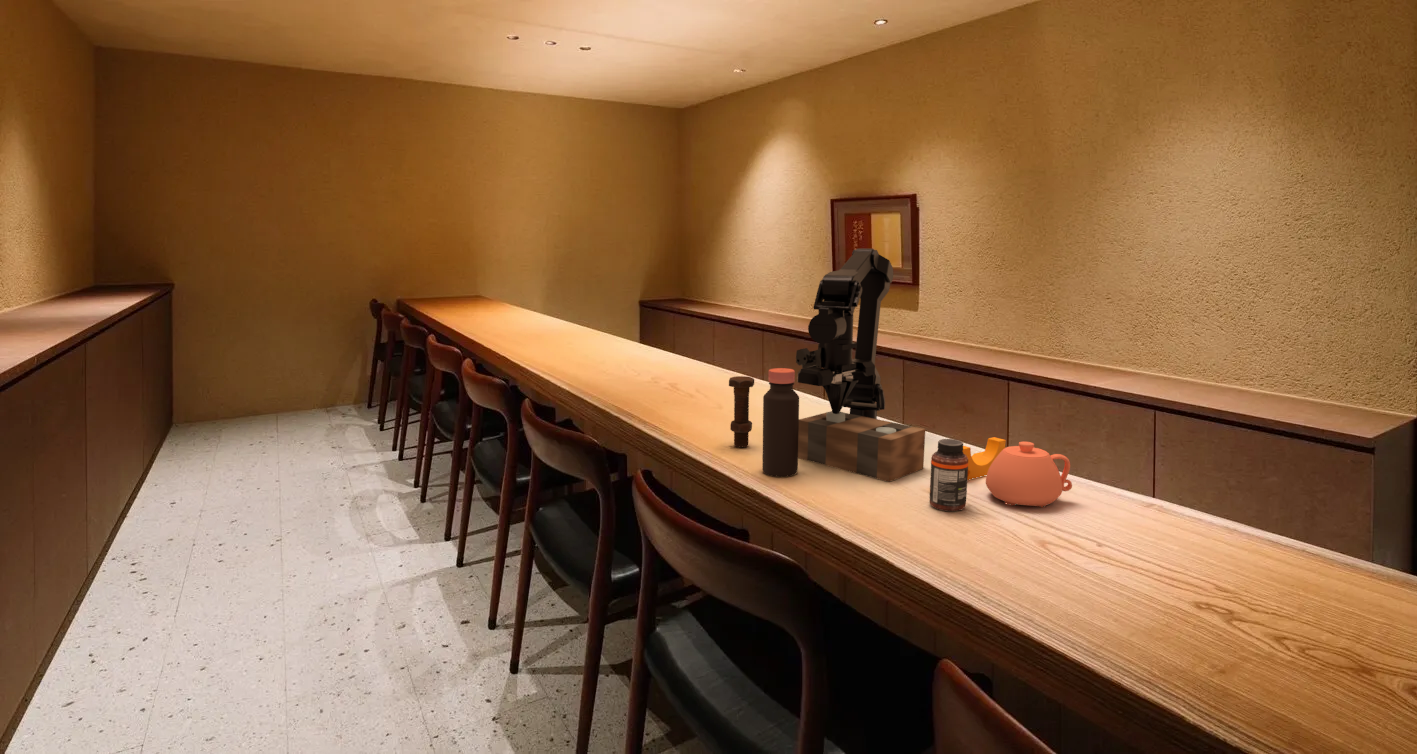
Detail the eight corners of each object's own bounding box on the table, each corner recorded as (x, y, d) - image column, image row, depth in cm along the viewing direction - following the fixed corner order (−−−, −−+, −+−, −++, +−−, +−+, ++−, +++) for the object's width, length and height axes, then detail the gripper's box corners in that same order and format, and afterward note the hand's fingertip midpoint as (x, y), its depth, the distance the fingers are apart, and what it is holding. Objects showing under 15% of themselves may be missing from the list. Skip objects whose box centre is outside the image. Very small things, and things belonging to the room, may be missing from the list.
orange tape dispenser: (984, 466, 152) (987, 435, 151) (1003, 472, 149) (1005, 440, 148) (943, 476, 146) (945, 443, 145) (961, 482, 143) (963, 449, 141)
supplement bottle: (935, 498, 134) (939, 435, 132) (970, 504, 130) (974, 440, 128) (923, 507, 129) (927, 442, 127) (959, 515, 126) (963, 448, 123)
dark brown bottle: (769, 465, 153) (771, 366, 149) (802, 469, 150) (804, 368, 146) (757, 474, 147) (758, 371, 143) (790, 479, 144) (792, 374, 140)
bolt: (750, 450, 163) (751, 381, 160) (727, 449, 164) (727, 380, 161) (754, 443, 169) (755, 376, 166) (731, 442, 170) (732, 375, 167)
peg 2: (881, 460, 152) (883, 426, 151) (898, 464, 150) (899, 429, 148) (870, 464, 150) (872, 429, 148) (887, 468, 147) (888, 432, 146)
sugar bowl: (979, 486, 140) (982, 432, 138) (1060, 490, 138) (1065, 435, 136) (991, 509, 128) (995, 450, 126) (1081, 515, 126) (1086, 455, 124)
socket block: (832, 446, 166) (833, 410, 165) (923, 468, 150) (925, 428, 149) (797, 457, 158) (797, 419, 156) (889, 482, 142) (890, 440, 141)
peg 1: (832, 443, 161) (833, 410, 159) (847, 446, 158) (849, 413, 157) (821, 446, 158) (822, 413, 157) (836, 450, 155) (837, 416, 154)
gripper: (834, 330, 166) (832, 400, 169) (777, 338, 153) (776, 414, 156) (877, 334, 158) (874, 408, 161) (821, 343, 145) (819, 423, 148)
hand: (835, 413), depth 157 cm, fingers closed, pressing on peg 1
